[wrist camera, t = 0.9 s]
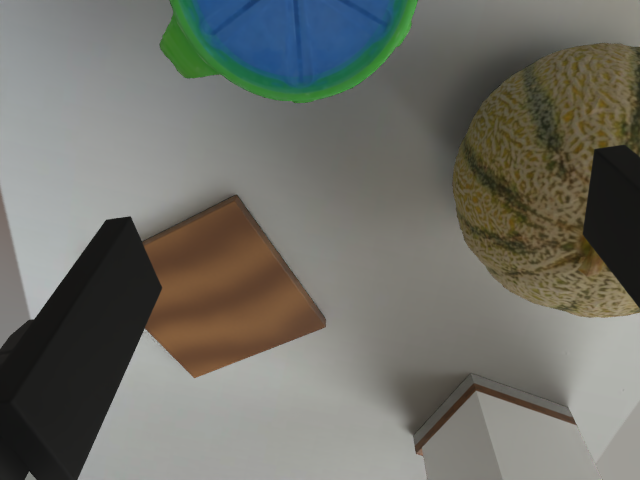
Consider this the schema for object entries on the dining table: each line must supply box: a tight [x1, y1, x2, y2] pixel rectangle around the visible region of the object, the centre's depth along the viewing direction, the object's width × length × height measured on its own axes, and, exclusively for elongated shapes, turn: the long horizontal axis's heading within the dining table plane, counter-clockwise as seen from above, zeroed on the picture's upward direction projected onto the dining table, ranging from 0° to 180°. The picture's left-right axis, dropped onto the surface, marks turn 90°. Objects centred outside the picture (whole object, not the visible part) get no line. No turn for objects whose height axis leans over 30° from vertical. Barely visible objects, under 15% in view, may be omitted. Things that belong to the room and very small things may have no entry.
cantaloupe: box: [452, 43, 640, 318], centre depth 28 cm, size 15×15×15 cm
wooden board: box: [142, 195, 326, 378], centre depth 42 cm, size 14×14×1 cm
